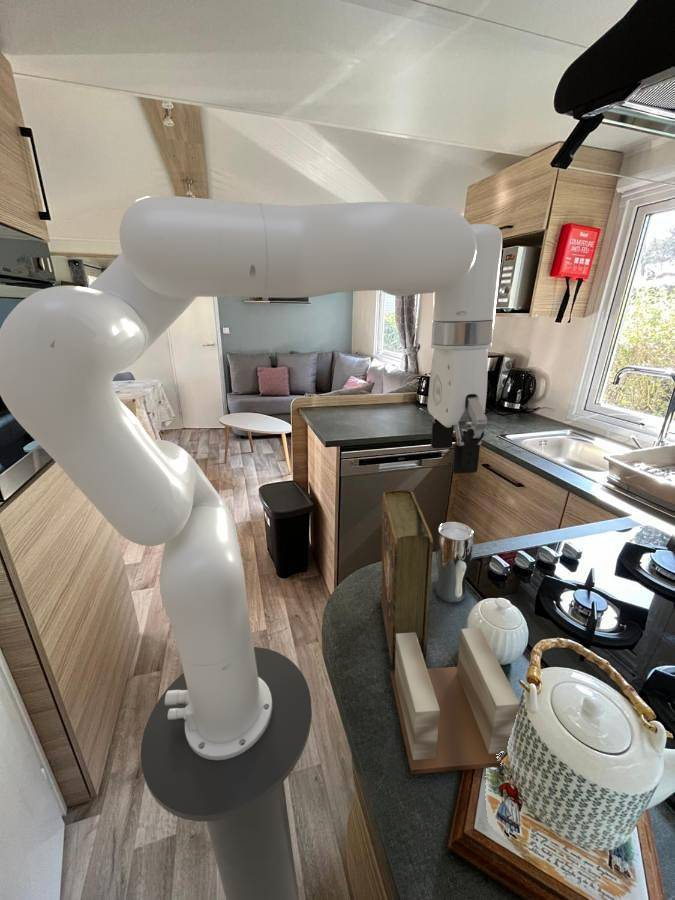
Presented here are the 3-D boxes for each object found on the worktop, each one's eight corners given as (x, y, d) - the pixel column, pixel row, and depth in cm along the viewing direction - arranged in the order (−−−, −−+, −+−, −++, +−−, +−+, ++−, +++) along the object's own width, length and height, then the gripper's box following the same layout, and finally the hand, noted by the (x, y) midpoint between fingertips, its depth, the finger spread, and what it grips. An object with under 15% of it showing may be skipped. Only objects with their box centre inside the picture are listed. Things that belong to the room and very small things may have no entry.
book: (380, 599, 78) (381, 489, 69) (407, 598, 78) (411, 488, 69) (391, 670, 63) (395, 541, 54) (425, 669, 63) (433, 539, 54)
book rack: (410, 774, 49) (413, 720, 45) (390, 676, 62) (391, 628, 58) (517, 765, 49) (528, 711, 46) (474, 669, 62) (480, 622, 59)
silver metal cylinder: (474, 601, 77) (481, 537, 71) (442, 607, 75) (447, 542, 70) (457, 579, 83) (463, 519, 78) (427, 584, 82) (431, 523, 77)
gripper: (416, 333, 57) (412, 440, 63) (456, 342, 41) (445, 486, 47) (465, 331, 57) (456, 438, 63) (524, 339, 41) (505, 482, 47)
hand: (452, 458), depth 55 cm, fingers open, 9 cm apart
